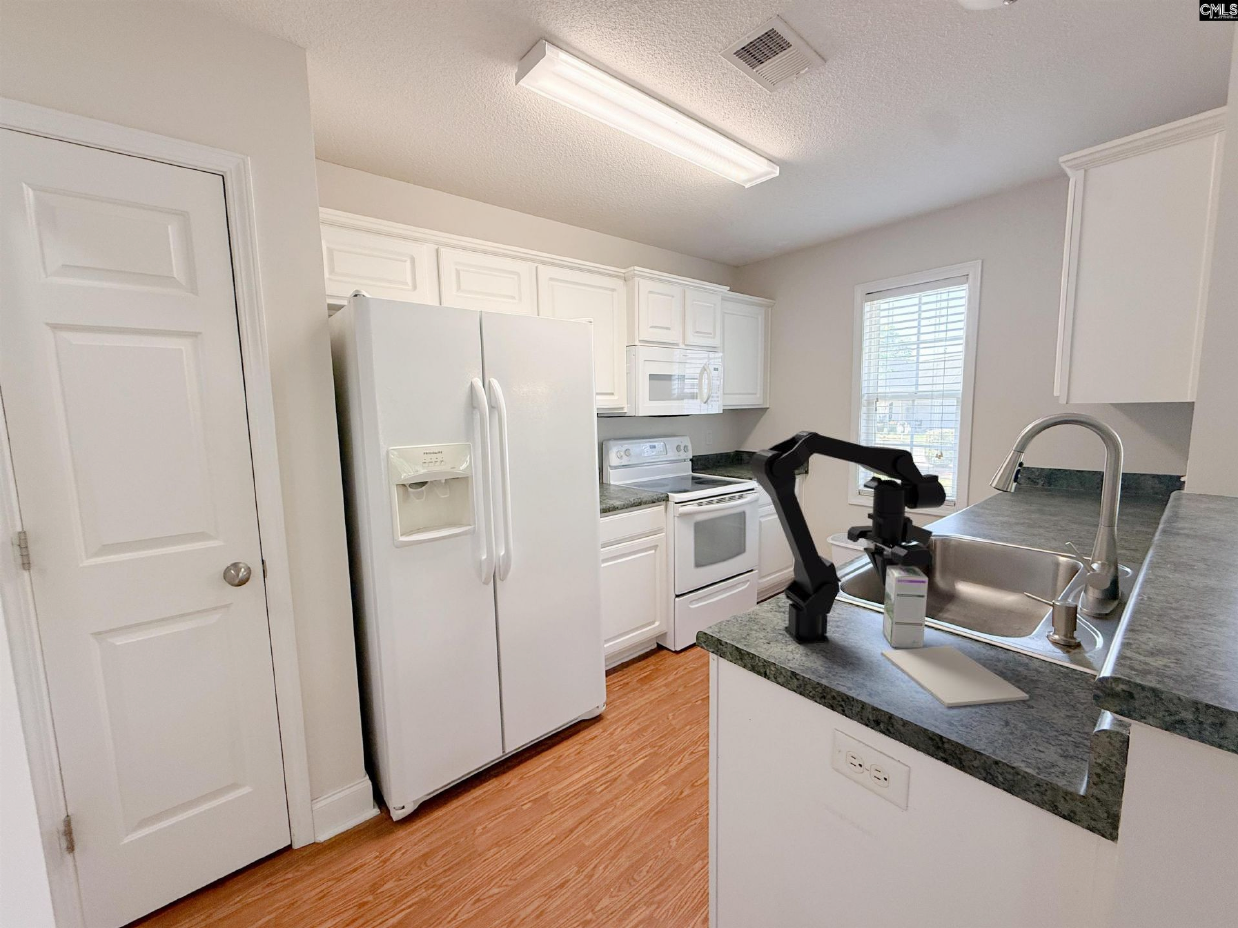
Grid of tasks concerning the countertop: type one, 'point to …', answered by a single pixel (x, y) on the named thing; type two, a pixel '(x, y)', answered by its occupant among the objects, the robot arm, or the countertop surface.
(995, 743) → the countertop surface
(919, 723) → the countertop surface
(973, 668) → the rubber mat
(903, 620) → the syrup box
